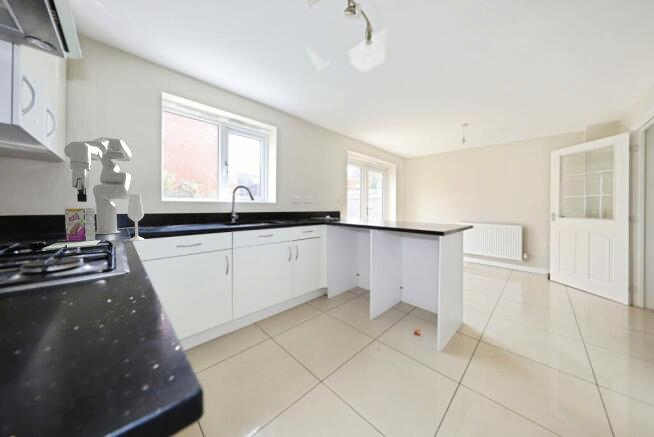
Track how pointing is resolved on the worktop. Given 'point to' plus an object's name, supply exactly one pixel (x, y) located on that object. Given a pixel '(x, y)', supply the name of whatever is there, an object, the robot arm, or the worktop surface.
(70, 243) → the mat
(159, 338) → the worktop surface
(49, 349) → the worktop surface
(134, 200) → the champagne flute
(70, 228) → the candy bar box
